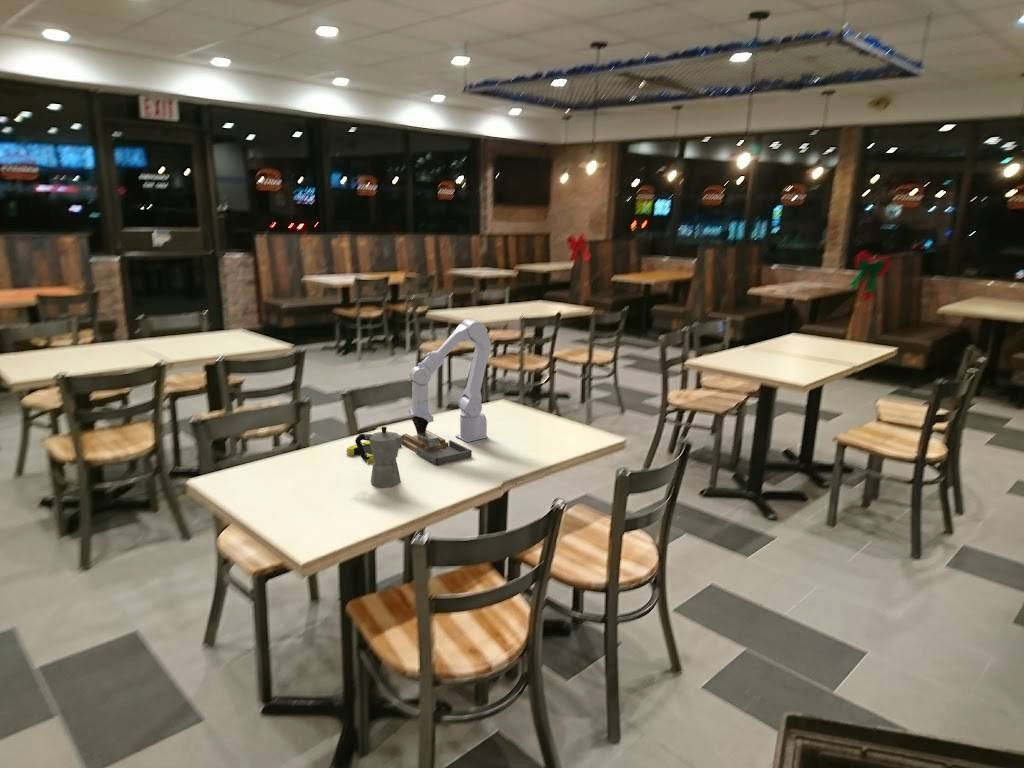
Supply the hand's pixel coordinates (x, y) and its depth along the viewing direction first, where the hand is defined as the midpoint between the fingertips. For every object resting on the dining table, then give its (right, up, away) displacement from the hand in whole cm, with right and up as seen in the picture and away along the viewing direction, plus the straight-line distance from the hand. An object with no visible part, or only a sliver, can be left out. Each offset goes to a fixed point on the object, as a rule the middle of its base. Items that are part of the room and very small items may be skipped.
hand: (421, 436), depth 240 cm
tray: (+9, -6, -11) cm, 16 cm away
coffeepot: (-7, -12, -35) cm, 38 cm away
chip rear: (+2, -2, -2) cm, 3 cm away
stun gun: (-13, -5, -9) cm, 17 cm away
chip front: (+4, -3, -5) cm, 7 cm away
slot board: (+1, -3, -1) cm, 3 cm away
